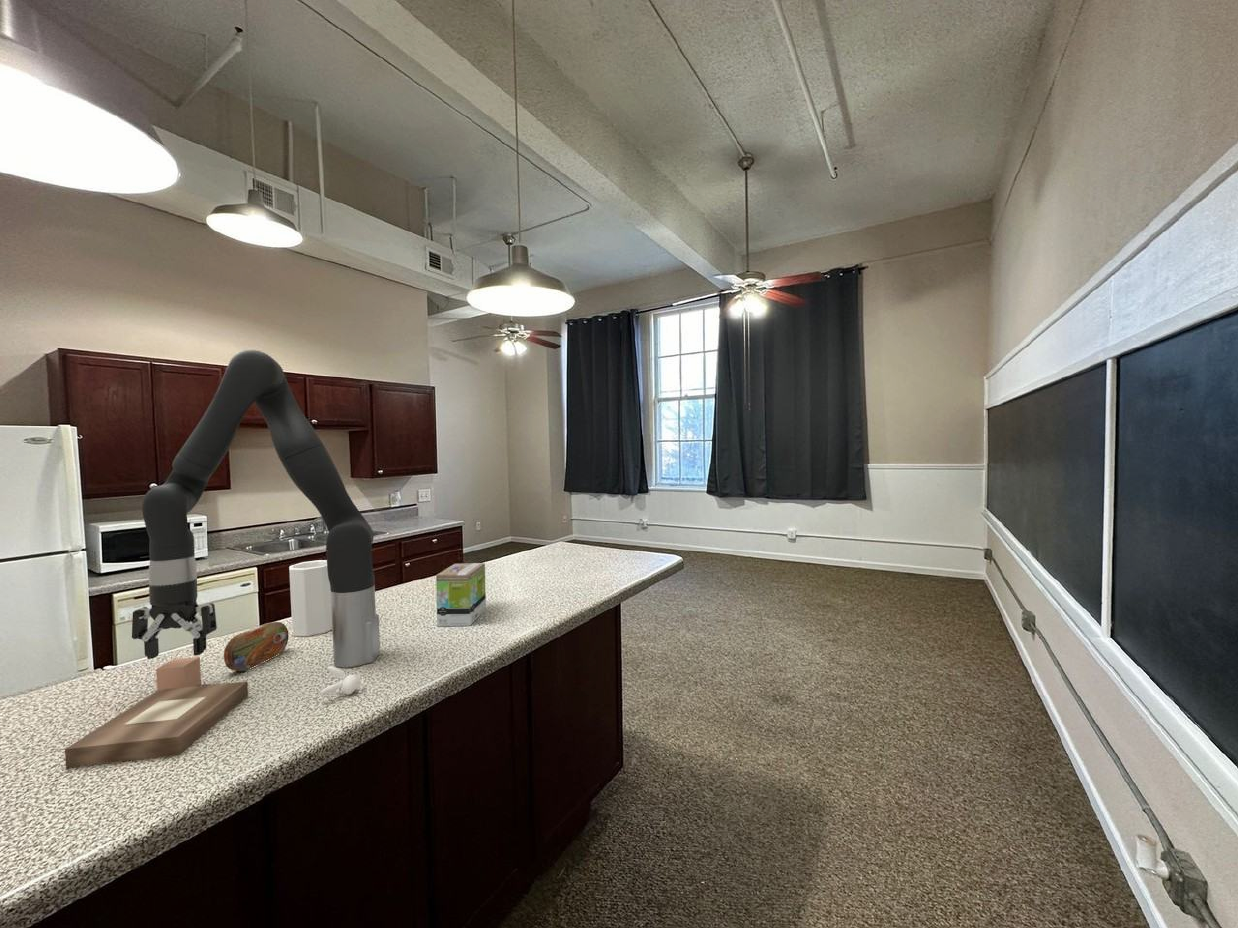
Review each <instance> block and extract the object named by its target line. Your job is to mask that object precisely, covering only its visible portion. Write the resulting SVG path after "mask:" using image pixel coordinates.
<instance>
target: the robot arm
mask: <svg viewBox="0 0 1238 928" xmlns="http://www.w3.org/2000/svg"><path fill="white" fill-rule="evenodd" d="M224 371H225V372H224V374H223V376H222V379H221V381H220V384H219V385H218V388H217V390H216V392H215V394H214V395H213V398H212V400H211V402H210V404H209V405H208V407H207V409H206V411H205V412H204V414H203V415H202V417H201V419H200V420H199V422H198V423H197V425H196V427H194V430H193V431H192V432H191V434H190V435H189V437H188V438H187V439H186V441H185V443H184V444H183V446H182V447H181V448H180V449H179V451H178V453H177V454H176V455H175V456H174V457H175V458H173V461H172V465H171V466H172V471H171V472H170V474H169V475H168V476H167V479H166V480H165V481H164V483H163V484H161V485H157V486H154V487H152V488H151V489H149V490H147V492H146V493H145V495H144V497H143V499H142V505H141V509H142V510H141V511H142V518H143V522H144V526H145V529H146V533H147V535H148V537H149V545H148V546H149V566H148V594H149V595H148V596H149V598H148V599H149V604H150V606H151V607H150V608H148V607H147V606H143V607H140V608H138V609H136V610H134V611H133V612H132V622H131V638H132V639H133V640H141V641H142V642H143V644H144V645H143V646H144V655H145V657H146V658H147V659H148V660H153V659H154V658H156V657H158V656H159V654H160V652H159V651H160V649H159V637H158V635H159V634H160V633H161V632H162V630H169V629H183V630H184V631H185V632H188V633H189V634H191V635H192V637H194V638H192V644H193V645H192V646H193V657H194V656H195V657H197V656H199V655H202V654H203V653H204V652H205V651H206V649H207V636H208V635H210V633H212V632H214V631H216V630H217V629H218V627H217V626H218V625H217V615H216V608H215V604H214V603H213V602H211V603H208V604H205V605H204V604H203V605H199V604H198V602H197V600H198V594H199V593H198V574H197V573H198V571H197V570H198V569H197V562H196V561H197V560H196V555H195V554H196V553H195V536H194V532H193V531H192V530H190V529H189V524H188V513H189V512H190V511H192V510H193V509H194V508H195V507H196V506H197V504H198V502H199V501H200V500H201V497H202V495H203V493H204V491H205V489H206V487H207V485H208V483H209V480H210V478H211V477H212V475H213V474H214V473H215V471H216V470H217V468H218V467H219V465H220V464H221V462H222V460H223V459H224V458H225V456H226V455H227V453H228V451H229V449H230V447H231V445H232V444H233V441H234V439H235V437H236V433H237V432H238V428H239V426H240V424H241V422H242V420H243V418H244V417H245V414H246V413H247V411H249V409H250V407H251V406H252V404H254V405H255V406H256V408H257V409H258V411H259V412H260V414H261V415H262V417H263V419H264V421H265V422H266V425H267V428H268V432H269V434H270V439H271V441H272V445H273V447H274V449H275V452H276V455H277V456H278V458H279V459H278V460H280V462H281V464H282V466H283V468H284V470H285V471H286V473H287V475H288V476H289V477H290V479H291V480H292V482H293V483H294V485H295V486H296V487H297V488H298V490H299V491H300V492H301V493H302V494H303V495H304V496H305V497H306V498H307V499H308V500H309V501H310V502H311V504H312V505H313V506H314V507H315V509H316V510H317V511H318V513H319V515H320V516H321V518H322V520H323V522H324V524H325V527H326V529H327V531H328V534H327V536H326V540H325V541H326V542H325V554H326V560H327V571H328V579H329V582H330V590H331V613H332V630H331V631H332V651H333V665H334V667H336V668H353V667H359V666H362V665H366V664H369V663H370V664H371V663H374V662H375V660H376V659H377V658H378V657H379V655H380V654H381V634H380V633H381V632H380V616H379V614H378V613H377V612H376V607H377V606H376V588H375V584H376V583H375V573H374V567H373V552H372V551H373V550H372V545H373V542H374V538H375V537H374V531H373V529H372V527H371V525H370V524H369V522H368V521H367V520H366V519H365V517H364V515H363V514H362V513H361V512H360V510H359V509H358V507H357V506H356V504H355V502H353V500H352V499H351V498H352V497H350V495H349V493H348V490H347V489H346V487H345V484H344V482H343V479H342V477H341V475H340V474H339V471H338V468H337V467H336V465H335V463H334V461H333V459H332V458H331V457H332V456H331V455H330V453H329V452H328V449H327V448H326V447H325V445H324V443H323V442H322V440H321V438H320V437H319V435H318V433H317V432H316V430H315V429H314V427H313V426H312V424H311V423H310V421H309V420H308V418H306V416H305V414H304V413H303V411H302V410H301V408H300V407H299V405H298V403H297V401H296V399H295V397H294V394H293V392H292V389H291V387H290V385H289V383H288V380H287V377H286V374H285V372H284V370H283V368H282V366H281V365H280V364H279V363H278V362H277V360H275V359H274V358H272V356H270V355H269V354H268V353H265V352H263V351H262V350H256V349H245V350H241V351H239V352H238V353H236V354H235V355H233V356H232V358H231V359H230V360H229V362H228V364H227V367H226V369H225V370H224ZM197 614H198V615H199V616H200V617H201V619H200V618H199V617H198V616H197ZM150 617H151V619H153V622H152V623H151V624H150V626H149V627H148V625H149V621H148V620H149V618H150Z"/></svg>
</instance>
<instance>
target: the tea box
mask: <svg viewBox="0 0 1238 928" xmlns="http://www.w3.org/2000/svg"><path fill="white" fill-rule="evenodd" d="M435 583H436V584H435V585H436V589H435V591H436V627H469V626H471V625H472V624H473V623H474V622H475V621H476V620H477V619H478V617H480V616H481V614H482V613H484V612H485V611H486V610H487V606H486V605H487V599H486V598H487V597H486V595H487V594H486V593H487V591H486V565H485V563H484V562H482V563H481V562H479V563H478V562H476V563H475V562H473V563H469V562H468V563H467V562H466V563H463V562H462V563H453V564H452V565H450V566H449V567H447V568H444V569H443V570H442V571H441V572H439V573H437V574H436V579H435Z"/></svg>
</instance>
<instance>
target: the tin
mask: <svg viewBox="0 0 1238 928" xmlns="http://www.w3.org/2000/svg"><path fill="white" fill-rule="evenodd" d="M289 637H290V636H289V629H288V627H287V626H286V625H285V623H283V622H280V621H273V622H266V623H264V624H261V625H259V626H256V627H254V628H251V629H249V630H247V631H244V632H241V633H239V634H237V635H235V636H233V637H232V638H231V639H230V640H229V641H228V643H227V644H226V645H225V647H224V651H223V659H224V663H225V666H226V667H227V668H228V669H229V670H232V671H239V672H246V670H247V671H249V670H248V669H250V668H252V667H254V666H256V665H258V664H260V663H262V662H264V661H266V660H268V659H270V658H272V657H274V656H276V655H278V654H280V655H281V654H282V653H283V652H284V651H285V649H286V647H287V644H288V642H289ZM278 656H279V655H278ZM272 659H273V658H272ZM270 660H271V659H270ZM268 661H269V660H268ZM266 662H267V661H266ZM264 663H265V662H264ZM262 664H263V663H262ZM260 665H261V664H260ZM258 666H259V665H258ZM256 667H257V666H256ZM254 668H255V667H254ZM252 669H253V668H252ZM250 670H251V669H250Z"/></svg>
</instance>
